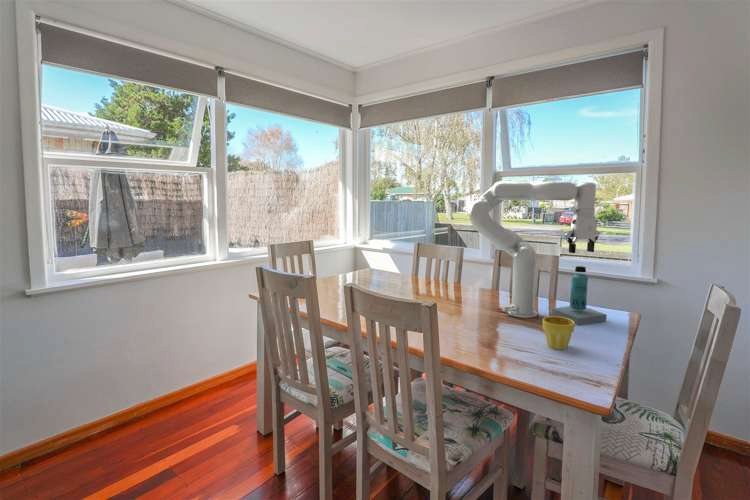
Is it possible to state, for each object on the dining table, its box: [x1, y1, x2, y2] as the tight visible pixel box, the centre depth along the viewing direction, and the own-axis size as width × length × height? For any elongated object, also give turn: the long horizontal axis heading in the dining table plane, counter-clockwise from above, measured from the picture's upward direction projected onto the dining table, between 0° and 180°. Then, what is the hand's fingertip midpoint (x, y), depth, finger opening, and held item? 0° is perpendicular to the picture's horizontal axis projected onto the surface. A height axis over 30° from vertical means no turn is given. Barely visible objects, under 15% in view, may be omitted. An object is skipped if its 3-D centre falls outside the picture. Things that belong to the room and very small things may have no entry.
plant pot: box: [542, 315, 576, 351], centre depth 144 cm, size 10×10×10 cm
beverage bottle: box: [569, 265, 589, 310], centre depth 173 cm, size 6×7×20 cm
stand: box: [551, 305, 608, 326], centre depth 175 cm, size 15×15×3 cm
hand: (581, 252), depth 171 cm, fingers open, 9 cm apart
